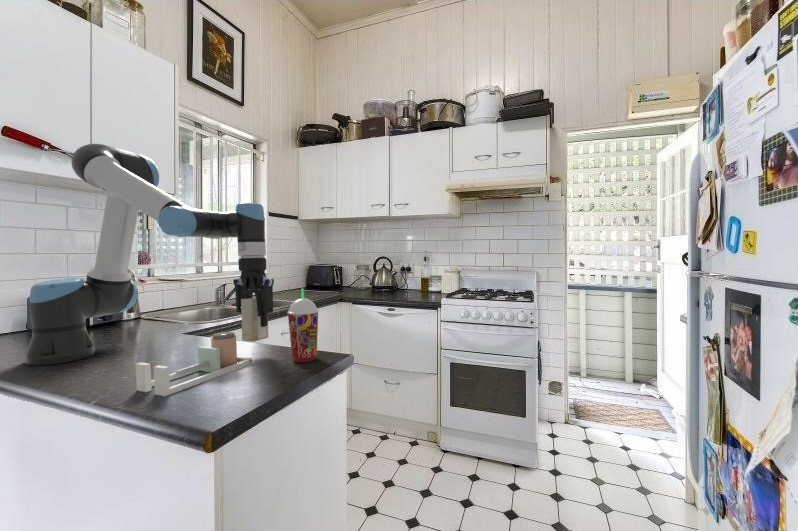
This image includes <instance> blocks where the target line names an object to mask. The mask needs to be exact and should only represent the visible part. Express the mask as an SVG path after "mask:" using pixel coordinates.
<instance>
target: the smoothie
mask: <svg viewBox="0 0 798 531" xmlns="http://www.w3.org/2000/svg"><path fill="white" fill-rule="evenodd" d="M300 294H301V296H300V297H301V298H298V299H295V300H294V301H293V302H292V303H291V305H290V307H289V309H288V311H287V317H288V318H287V319H288V330H289V331H288V332H289V341H290V349H291V357H292V358H293V361H294V362H296V363H310V362H312V361H314V360H315V359H316V355H317V354H318V335H319V334H318V332H319V331H318V330H319V309H318V308H317V306H316V304H315V303H314V301H312V300H311V299H309V298H306V297H305V291H304V288H301V292H300Z"/></svg>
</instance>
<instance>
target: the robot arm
mask: <svg viewBox="0 0 798 531" xmlns="http://www.w3.org/2000/svg"><path fill="white" fill-rule="evenodd" d="M70 161H71V167H72V170H73V172H74V173H75V175H76V176H77V177H78V178H80V179H81V180H82V181H84V182H85V183H87V184H88V185H90V186H91V187H94V188H96V189H101V190H102V191H103V192H104V193H105V195H106V200H105V207H104V212H103V219H102V224H101V229H100V236H99V241H98V247H97V252H96V257H95V263H94V264H95V265H94V268H93V269H91V270H90V271H88V272H87V273H86V280H84V279H83V278H82V277H65V278H58V279H51V280H46V281H42V282H38V283H35V284H33V285H32V286H31V288H30V291H29V292H30V293H29V303H30V314H31V315H30V316H31V334H32V336H31V338H30V342H29V344H28V347H27V350H26V352H25V356H24V361H25V365H27V366H46V365H56V364H63V363H69V362H74V361H79V360H81V359H85V358H88V357H90V356H93V355H94V354H95V345H94V343H93V341H92V339H91V337H90V335H89V332H88V330H87V327H86V326H87V325H86V324H87V323H86V319H90V318H96V317H97V318H98V317H103V316H110V315H111V316H113V315H116V314H119V313H123V312H126V311H128V310H129V309H131V308H132V307H133V306H134V305H135V303H136V301H137V299H138V293H139V292H138V288H136V287H137V285H136V283H135V282H134V281H133V280H132V279H133V277H132V276H131V274H130V273H129V272H128V270H129V264H130V261H131V260H130V259H131V253H132V248H133V242H134V237H135V233H136V226H137V223H138V222H137V221H138V216H139V211H140V212H142V213H143V214H145V215H147V216H148V217H150V218H151V219H153V220H155V221H156V222H158V226H159V228H161V231H162V232H163V233H164V234H165V235H168V236H174V237H177V238H183V237H184V238H185V237H187V238H188V237H189V238H191V237H192V238H205V239H213V240H214V239H215V240H218V239H225V238H227V239H228V238H237V255H238V257H240V258H238V260H237V261H238V264H237V265H238V271H239V272H240V277H238V278H235V279H233V286H234V290H235V291H234V293H235V308H236V313H240V314H241V299H247V298H252V297H256V299H257V307H258V311H259V314H258V315H257V330H258V339H261V338H265V337H267V330H266V326H267V325H268V326H269V319H267V315H270V314H272V313H273V312H274V291H273V286H274V284H275V279H274V278H268V277H267V275H266V272H265V271H267V269H268V267H267V258H266V257H265V256H266V255H267V248H266V235H265V234H266V231H265V230H266V227H265V226H266V222H265V221H266V218H265V210H264V206H263V205H262V204H260V203H256V202H255V203H254V202H239V203H237V204H236V205H235V210H234V211H223V212H221V211H214V210H213V211H212V210H205V209H200V208H199V209H198V208H193V207H190V206H189V205H187V204H185V203H183V202H182V201H180V200H178V199H176V198H175V197H173V196H172V195H170V194H168V193H166V192H165V191H163V190H162V189H160V188H158V186H159V183H160V172H159V169H158V166H156V164H155V162H154V161H153V160H152V159H151V158H149V157H148V156H145V155H142V154H140V153H137V152H132V151H128V150H125V149H120V148H117V147H113V146H109V145H105V144H102V143H88V144H85V145H82V146H80V147H79V148H77V149H76V150H75V152H74V153H73V154H72V157H71V160H70ZM253 295H254V296H253ZM263 310H264V311H263ZM265 339H266V338H265ZM261 340H262V339H261Z"/></svg>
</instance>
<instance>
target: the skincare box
mask: <svg viewBox="0 0 798 531" xmlns="http://www.w3.org/2000/svg"><path fill="white" fill-rule="evenodd" d="M263 311H264V310H263ZM258 314H259V311H258V307H257V299H256V297H255V296H253V297H252V298H247V299H241V313H240V315H241V317H240V318H241V340H242V342H243V341H244V342H251V343H252V342H257V341H260V340H264V339H268V338H269V324H268V325H267V326H266V330H267V337H265V338H261V339H258V330H257V315H258ZM268 315H269V314H268ZM268 315H267V319H268V317H269V316H268ZM268 320H269V319H268Z"/></svg>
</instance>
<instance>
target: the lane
mask: <svg viewBox="0 0 798 531" xmlns="http://www.w3.org/2000/svg"><path fill="white" fill-rule="evenodd" d="M237 362H238V363H236V364H234V365H231V366H228V367H225V368H222V369H220V370H217V371H214V372H207V373H206V374H203V375H201V376H198V377H197V376H196V377H195V378H191V379H189V380H186V381H184V382H181V383H178V384H175V385H173V386H171V384H170V381H173V380H177V379H179V378H181V377H185V376H187V375H190V374H194V373H196V372H200V370H199V369H197V370H194V371H191V372H188V373H185V374H182V375H176V371H175V372H173V373H170V367H169V366H167V365H166V366H165V365H159V364H158V365H156V366H153V376H154V377H153V379H152V370H151V369H152V367H151V363H149V362H137V363H135V375H136V376H135V378H136V379H135V380H136V391H139V392H142V393H149V392H151V391H152V388H153V387H154V395H155V396H162V397H167V396H170V395H172V394H175V393H178V392H180V391H184V390H186V389H188V388H191V387H194V386H197V385H199V384H202V383H204V382H208V381H210V380H212V379H215V378H218V377H220V376H223V375H226V374H228V373H231V372H233V371H237V370H239V369H241V367H242V368H244V367H243V366H245V367H247V366H250V365H252V364H253V358H252V357H245V356H239V355H237ZM251 363H252V364H251ZM249 364H250V365H249ZM246 365H247V366H246ZM236 369H237V370H236Z"/></svg>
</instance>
